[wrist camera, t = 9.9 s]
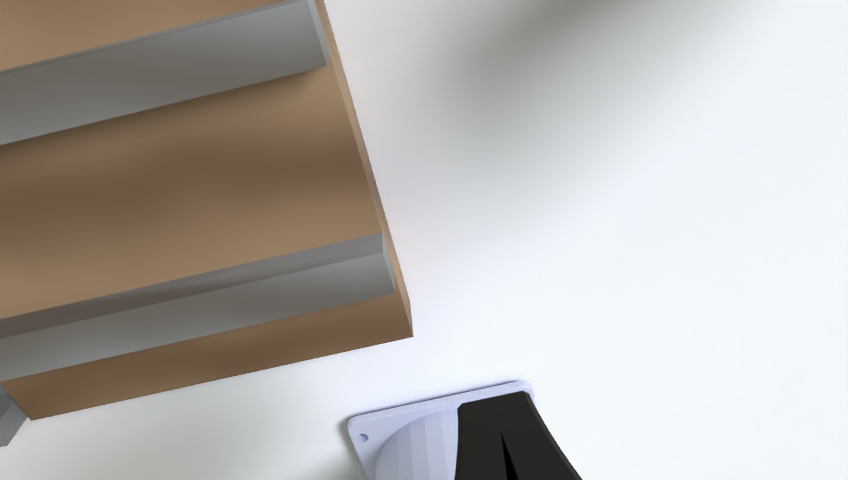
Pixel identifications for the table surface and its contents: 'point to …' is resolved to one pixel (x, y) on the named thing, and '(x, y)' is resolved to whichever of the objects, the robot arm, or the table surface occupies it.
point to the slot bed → (181, 199)
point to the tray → (9, 417)
